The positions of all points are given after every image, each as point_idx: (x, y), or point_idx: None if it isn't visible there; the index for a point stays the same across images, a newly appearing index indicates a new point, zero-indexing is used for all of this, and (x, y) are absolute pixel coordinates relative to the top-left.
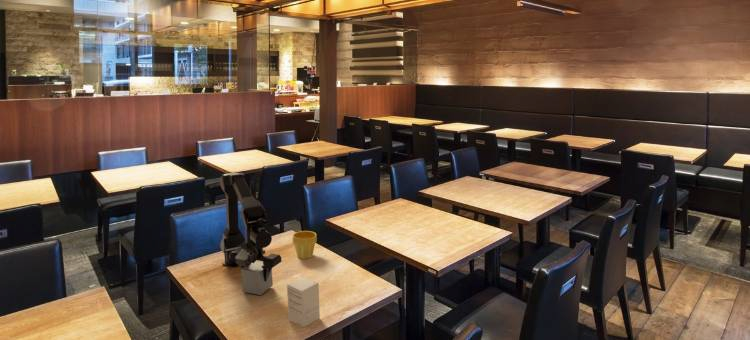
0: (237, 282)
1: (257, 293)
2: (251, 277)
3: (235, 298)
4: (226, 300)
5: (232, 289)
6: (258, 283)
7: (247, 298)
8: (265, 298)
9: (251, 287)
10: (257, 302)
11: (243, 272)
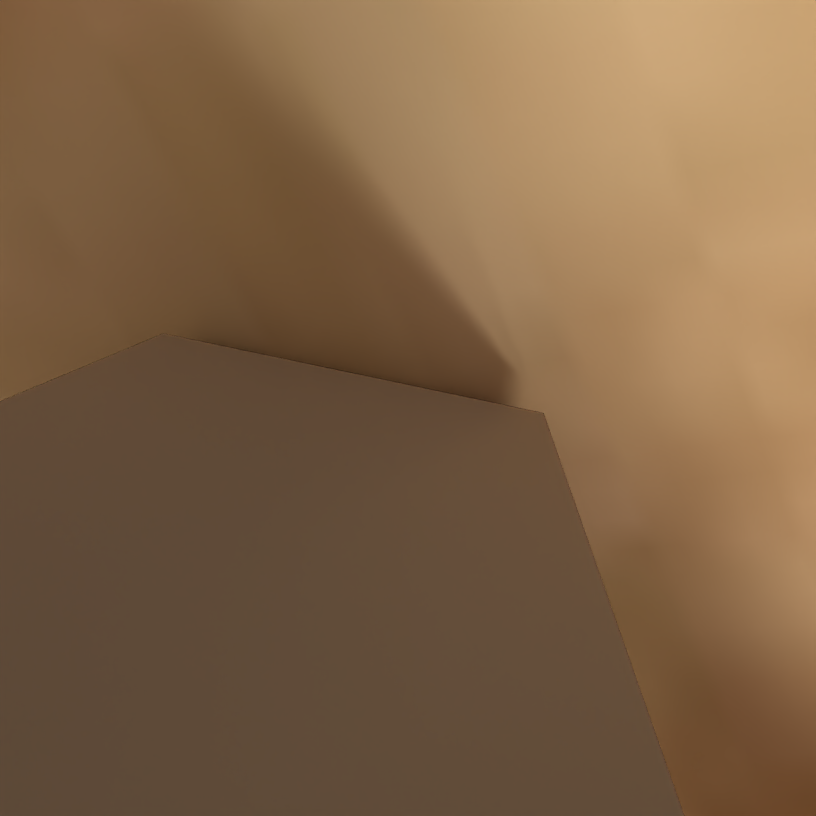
0: (764, 697)
1: (218, 353)
2: (152, 554)
3: (600, 172)
4: (773, 36)
5: (781, 492)
6: (16, 421)
7: (365, 220)
8: (69, 281)
9: (314, 414)
10: (106, 103)
11: (529, 787)
